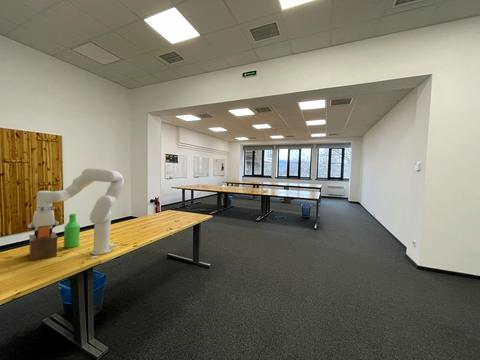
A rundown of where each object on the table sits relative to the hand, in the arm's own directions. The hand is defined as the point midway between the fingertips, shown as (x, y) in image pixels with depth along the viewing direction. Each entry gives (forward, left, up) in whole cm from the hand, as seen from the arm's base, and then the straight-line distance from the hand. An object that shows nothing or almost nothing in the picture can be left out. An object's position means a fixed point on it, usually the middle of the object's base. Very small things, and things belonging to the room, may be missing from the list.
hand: (43, 235), depth 132 cm
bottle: (-16, -8, -14) cm, 23 cm away
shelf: (0, 0, -13) cm, 13 cm away
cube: (0, 0, 0) cm, 0 cm away
